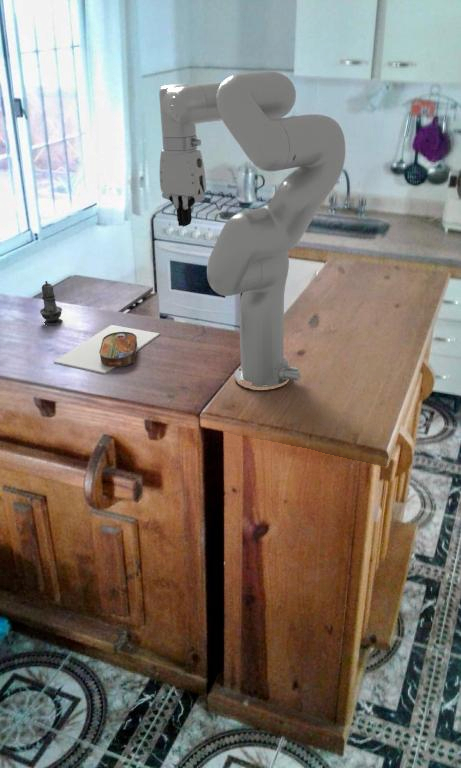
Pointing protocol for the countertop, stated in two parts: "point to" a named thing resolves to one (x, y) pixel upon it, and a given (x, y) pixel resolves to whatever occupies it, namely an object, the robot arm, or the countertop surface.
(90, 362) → the felt mat
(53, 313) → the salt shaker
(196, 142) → the robot arm
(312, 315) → the countertop surface
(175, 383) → the countertop surface
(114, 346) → the tin
